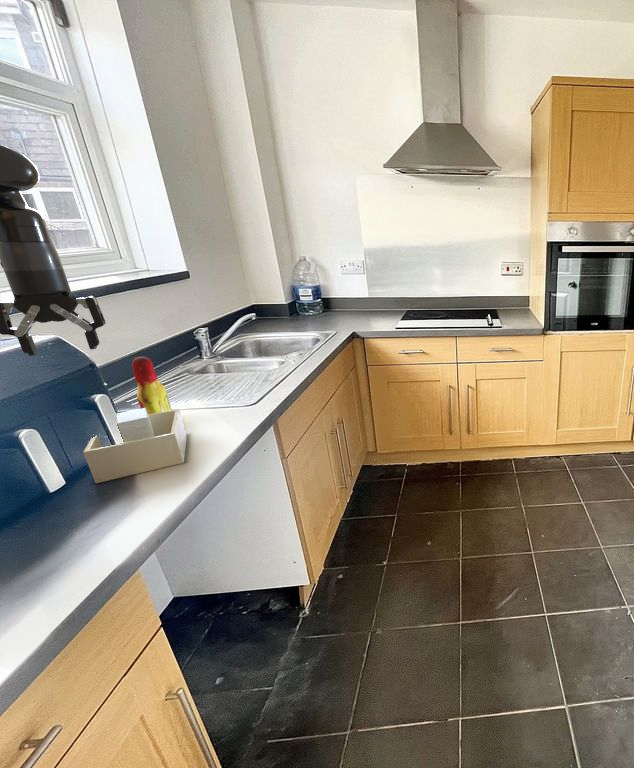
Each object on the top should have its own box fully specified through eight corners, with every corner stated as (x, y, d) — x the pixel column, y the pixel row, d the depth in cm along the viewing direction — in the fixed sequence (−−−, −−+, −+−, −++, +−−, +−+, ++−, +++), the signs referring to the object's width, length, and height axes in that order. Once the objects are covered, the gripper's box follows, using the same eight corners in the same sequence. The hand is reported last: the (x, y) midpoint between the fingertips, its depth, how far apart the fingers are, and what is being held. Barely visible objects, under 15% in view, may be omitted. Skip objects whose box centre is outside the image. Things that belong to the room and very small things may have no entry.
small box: (129, 451, 103) (115, 413, 99) (158, 444, 106) (145, 406, 103) (130, 464, 97) (115, 423, 94) (161, 456, 101) (147, 416, 97)
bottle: (170, 428, 117) (148, 360, 110) (141, 433, 114) (117, 364, 107) (177, 413, 127) (158, 350, 120) (150, 417, 124) (129, 353, 117)
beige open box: (95, 483, 91) (82, 452, 88) (110, 451, 105) (100, 423, 102) (183, 462, 99) (174, 433, 97) (187, 435, 113) (179, 408, 110)
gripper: (90, 265, 84) (115, 343, 89) (-15, 267, 76) (19, 352, 82) (81, 267, 78) (108, 350, 84) (-34, 270, 71) (4, 361, 76)
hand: (64, 351), depth 83 cm, fingers open, 8 cm apart
